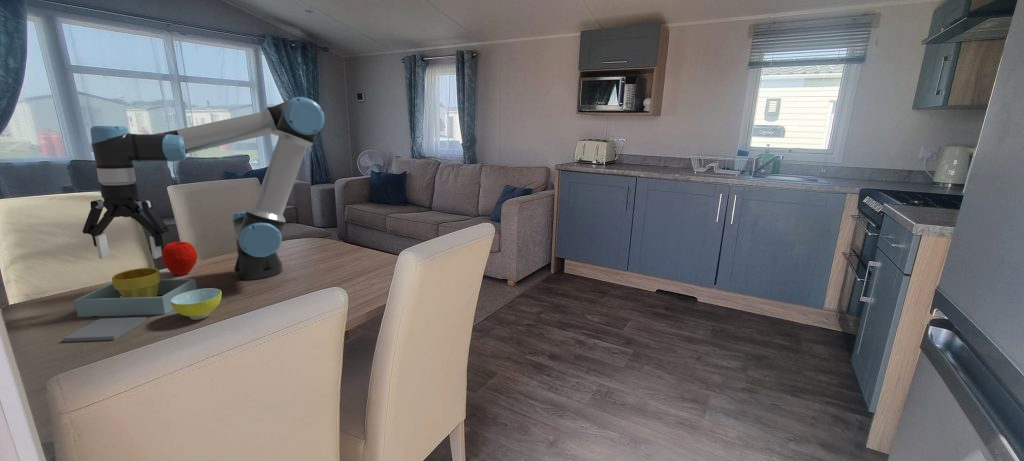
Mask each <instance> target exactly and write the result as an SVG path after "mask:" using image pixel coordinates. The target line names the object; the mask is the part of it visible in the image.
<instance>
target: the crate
mask: <svg viewBox="0 0 1024 461" xmlns="http://www.w3.org/2000/svg"><path fill="white" fill-rule="evenodd" d="M196 281H197V280H196V278H178V279H177V278H173V279H172V278H171V279H168V278H167V279H166V278H165V279H161V281H160V282H159V283H158V293H157V295H163V296H157V297H133V298H122V297H120V296H121V295H120V293H119V291H118V290H116V289H115V288H114V286H113V282H111V283H110V284H107V285H105V286H103V287H100V288H99V289H96V290H94V291H91V292H89V293H87V294H84V295H83V296H80V297H78V298H76V299H73V301H74V307H75V310H76V315H77V317H78V318H90V317H91V316H92V317H91V318H93V316H99V317H120V316H121V317H123V316H124V317H127V316H153V315H166V314H168V313H170V312H172V310H175V309H174V308H173V307H172V305H171V299H172V298H173V297H175V296H177V295H179V294H182V293H185V292H188V291H192V290H198V288H197V282H196ZM119 297H120V298H119Z"/></svg>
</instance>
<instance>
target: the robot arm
mask: <svg viewBox="0 0 1024 461" xmlns="http://www.w3.org/2000/svg"><path fill="white" fill-rule="evenodd" d="M324 124H325V114H324V111H323V109H322V108H321V106H320V104H319V103H317V102H316V101H314V100H313V99H310V98H309V97H308V98H307V97H305V96H296V97H292V98H291V99H287V100H286V101H283V102H281V103H278V104H276V105H272V106H268V107H265V108H264V109H263V111H260V112H255V113H251V114H246V115H241V116H236V117H230V118H226V119H221V120H217V121H211V122H207V123H202V124H199V125H194V126H187V127H184V128H179V129H174V130H169V131H165V132H158V133H150V134H149V133H146V134H145V133H143V134H139V133H138V134H137V133H130V131H129V130H128V128H127V127H126V126H119V125H118V126H117V125H93V126H91V127H90V130H89V131H90V137H91V147H92V152H93V156H94V162H95V167H96V173H97V180H98V182H99V183H100V186H99V188H100V194H101V198H103V200H102V199H97V200H92V201H90V202H89V203H90V210H89V213H88V215H87V218H86V220H85V223H84V226H83V229H82V234H84V235H85V234H87V235H90V236H91V237H92V241H93V246H94V247H95V248H96V250H97V254H98V259H99V260H103V259H105V258H108V257H111V256H110V250H109V243H108V239H107V234H106V233H104V231H105V230H106V229H107V227H108V226H109V225H110V224H111V222H112V221H113V220H114V218H120V217H122V218H131V219H134V220H135V221H136V222H137V223H138V224H140V226H142V227H143V228H144V229H145V230H147V232H149V233H150V234H151V235H149V241H150V242H149V243H150V249H151V256H152V259H158V258H160V257H161V258H162V246H163V245H164V241H163V240H164V239H163V234H165V233H168V232H169V231H170V229H169V227H168V226H167V225H166V223H165V222H164V220H163V219H162V218H161V216H160V215H159V213H158V212H157V211H156V209H155V207H154V204H153V202H152V201H153V200H144V201H140V200H139V190H138V185H137V183H136V181H137V180H136V173H135V167H134V162H171V163H172V162H184V161H185V160H186V159H187V154H191V153H196V152H199V151H203V150H208V149H212V148H215V147H221V146H225V145H229V144H233V143H238V142H243V141H247V140H250V139H255V138H259V137H260V138H261V137H264V136H268V135H274V136H278V139H277V142H276V145H275V147H274V150H273V152H272V156H271V158H270V161H269V163H268V167H267V170H266V172H265V175H264V177H263V179H262V180H263V181H262V183H261V186H260V189H259V192H258V194H257V197H256V200H255V203H254V206H252V207H249V208H247V209H246V211H237V212H234V213H233V214H232V223H233V229H234V237H235V242H236V243H235V245H236V251H237V257H236V261H235V265H234V268H233V274H234V277H235V278H236V279H239V280H246V281H247V280H248V281H249V280H259V279H266V278H270V277H274V276H277V275H279V274H281V273H283V271H284V266H283V263H282V261H281V259H280V256H279V255H278V253H277V251H278V250H279V248H280V247H281V244H282V241H283V240H282V239H283V237H282V236H283V235H282V233H283V229H284V228H285V227H284V226H285V225H286V218H285V216H284V212H285V209H286V207H287V203H288V201H289V198H290V195H291V192H292V190H293V187H294V184H295V181H296V178H297V176H298V173H299V170H300V167H301V164H302V162H303V158H304V156H305V153H306V150H307V148H308V147H311V146H313V145H314V144H315V140H316V138H317V135H318V133H319V132H320V131H321V130H322V129H323V127H324ZM134 182H135V183H134ZM104 208H105V209H106V211H105V212H104V213H103V215H102V212H103V209H104ZM142 210H143V211H142ZM101 215H102V217H101ZM100 217H101V218H100Z"/></svg>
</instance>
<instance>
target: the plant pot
mask: <svg viewBox="0 0 1024 461" xmlns="http://www.w3.org/2000/svg"><path fill="white" fill-rule="evenodd" d="M161 280H162V279H161V272H160V270H159V269H158V268H155V267H141V268H135V269H134V268H133V269H129V270H125V271H121V272H118V273H116V274H114V275H113V276H112V277H111V281H112V282H111V283H113V286H114V288H115V289H116V290H118V291H119V293H120V295H121V297H120V298H133V297H158V296H157V293H158V283H159V282H160V281H161Z"/></svg>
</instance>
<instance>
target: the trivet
mask: <svg viewBox="0 0 1024 461" xmlns="http://www.w3.org/2000/svg"><path fill="white" fill-rule="evenodd" d="M146 321H147V317H146V316H141V317H140V316H138V317H114V318H112V317H109V318H98V319H97V320H95V321H93V322H91V323H90V324H87V325H86V326H84V327H81V328H79V329H78V330H75V331H74V332H72V333H70V334H68V335H66V336H64V337H63V338H62V339H63V343H74V342H75V343H76V342H99V341H100V342H101V341H115V340H117V339H119V338H120V337H122V336H123V335H125V334H127V333H129V332H130V331H132V330H134V328H137V327H138V326H140V325H142V324H143V323H145V322H146Z"/></svg>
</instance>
